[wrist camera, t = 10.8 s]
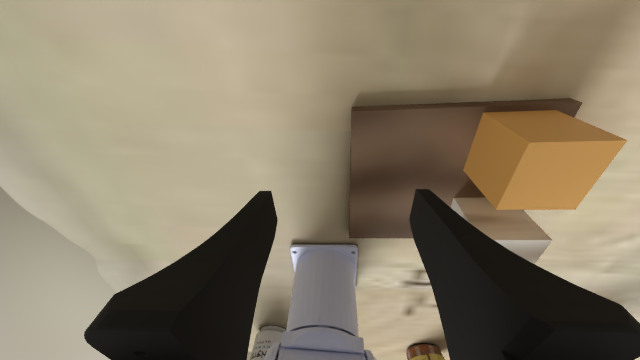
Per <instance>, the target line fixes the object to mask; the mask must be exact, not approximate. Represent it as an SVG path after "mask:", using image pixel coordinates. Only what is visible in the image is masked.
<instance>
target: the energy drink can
mask: <svg viewBox="0 0 640 360" xmlns="http://www.w3.org/2000/svg"><path fill="white" fill-rule="evenodd" d="M283 331H286V330H285V329H284V328H281V327H278V326H265V327H263V328H261V331H260V332H258V333H257V335H256V338H255V342H254V346H253V350H252V355H251V358H250V360H264V358H265V355H266V353H267V351H268V349H269V348H270V347H272V345H273V344H274V343H275V342H278V343H281V341H282V335H283Z"/></svg>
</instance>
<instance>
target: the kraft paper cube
mask: <svg viewBox="0 0 640 360" xmlns="http://www.w3.org/2000/svg"><path fill="white" fill-rule="evenodd" d="M626 141H627V140H625V139H623V138H621V137H618V136H616V135H614V134H611V133H609V132H607V131H604V130H602V129H599V128H597V127H595V126H592V125H590V124H588V123H585V122H583V121H581V120H578V119H576V118H574V117H571V116H569V115H567V114H564V113H562V112H559V111H557V110H545V111H515V112H485V113H483V114H482V117H481V120H480V123H479V126H478V129H477V132H476V135H475V137H474V140H473V143H472V146H471V149H470V152H469V155H468V158H467V161H466V163H465V166H464V169H463V171H464V172H465V173H466V174H467V175H468V177H469V178H470V179H471V180H472V181H473V183H474V184H475V185H476V186H477V187H478V189H479V190H480V191H481V192H482V194H483V195H484V196H485V197H486V198H487V200H488V201H489V202H490V203H491V204H492V206H493V207H494V208H495V209H496V210H553V209H576V208H577V206H578V205H579V204H580V202H581V201H582V200H583V198H584V197H585V196H586V194H587V193H588V192H589V191H590V189H591V188H592V187H593V185H594V184H595V183H596V181H597V180H598V179H599V177H600V176H601V175H602V173H603V172H604V171H605V169H606V168H607V167H608V165H609V164H610V163H611V161H612V160H613V159H614V157H615V156H616V155H617V153H618V152H619V151H620V149H621V148H622V147H623V145H624V144H625V143H626Z"/></svg>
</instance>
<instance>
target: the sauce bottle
mask: <svg viewBox="0 0 640 360" xmlns="http://www.w3.org/2000/svg"><path fill="white" fill-rule="evenodd" d="M407 359H408V360H445V359H444V357H443V356H442V353H441V351H440V349H439V348H438V347H437V346H435V345H429V344H419V345H414V346H412V347H410V348H408V350H407Z"/></svg>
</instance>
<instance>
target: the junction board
mask: <svg viewBox="0 0 640 360" xmlns="http://www.w3.org/2000/svg"><path fill="white" fill-rule="evenodd" d="M581 104H582V102H579V101H576V100H574V99H546V100H521V101H495V102H470V103H445V104H420V105H395V106H369V107H352V114H351V165H350V216H349V236H350V238H413V234H412V230H411V226H410V222H409V218H410V213H411V208H412V204H413V199H414V195H415V190H416V189H429V190H431V191H432V192H433V193H434V194H435V195H437V196H438V197H439V198H440V199H441V200H442V201H444V202H445V203H446V204H447V205H448V206H449V207H451V208H452V209H453V210H454V211H455V212H457V213H458V214H459V215H460V216H461V217H463V218H464V219H465V220H467V221H468V222H469V223H470V224H472V225H473V226H474V227H476V228H477V229H479V230H480V231H481V232H483V233H484V234H485V235H487V236H488V237H490V238H491V239H493V240H494V241H496V242H498V243H499V244H501V245H502V246H504V247H505V248H507V249H509V250H510V251H512V252H514V253H515V254H517V255H519V256H520V257H522V258H524V259H526V260H528V261H529V262H531V263H533V264H535V263H536V261H537V260H538V259H539V257H540V256H541V255H542V253H543V252H544V251H545V249H546V248H547V247H548V245H549V244H550V243H551V241H552V239H551V238H550V237H549V236H548V235H547V234H546V233H545V232H544V231H543V230H542V229H541V228H540V227H539V226H538V225H537V224H536V223H535V222H534V221H533V220H532V219H531V218H530V217H529V216H528V215H527V214H526V213H525V212H524V210H496V209H495V208H494V207H493V206H492V204H491V203H490V202H489V201H488V200H487V198H486V197H485V196H484V195H483V194H482V192H481V191H480V190H479V189H478V187H477V186H476V185H475V184H474V183H473V181H472V180H471V179H470V178H469V177H468V175H467V174H466V173H465V172H464V171H463V169H464V166H465V163H466V161H467V158H468V155H469V152H470V149H471V146H472V143H473V140H474V137H475V135H476V132H477V129H478V126H479V123H480V120H481V117H482V114H483V113H485V112H515V111H545V110H557V111H559V112H562V113H564V114H567V115H569V116H571V117H575V115H576V113H577V111H578V110H579V108H580V106H581Z"/></svg>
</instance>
